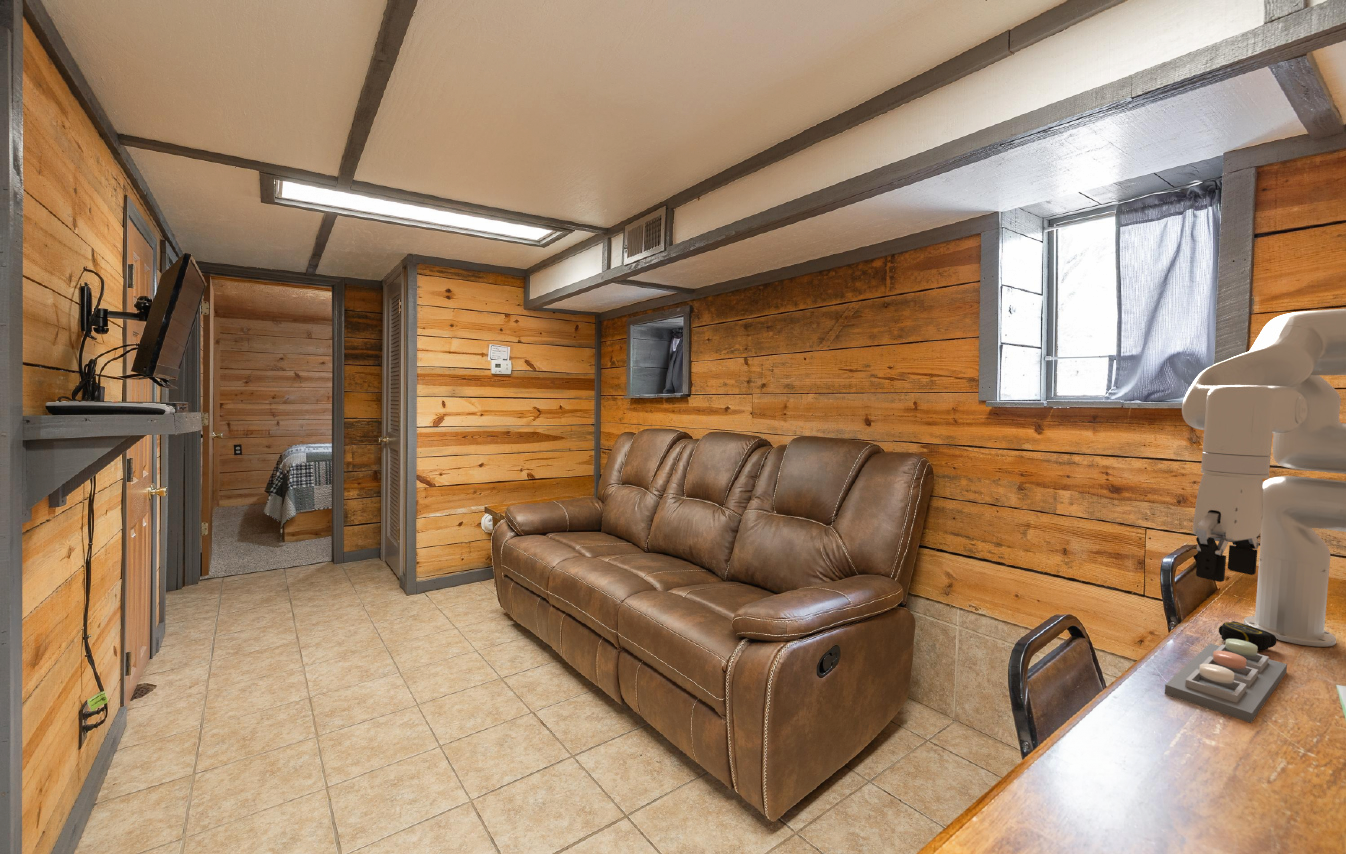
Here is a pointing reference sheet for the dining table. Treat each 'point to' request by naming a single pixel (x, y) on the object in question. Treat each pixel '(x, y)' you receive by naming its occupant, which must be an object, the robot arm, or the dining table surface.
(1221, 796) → the dining table surface
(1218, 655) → the button terracotta
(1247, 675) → the button board
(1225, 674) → the cream button
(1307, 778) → the dining table surface
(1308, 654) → the dining table surface
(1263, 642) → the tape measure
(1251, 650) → the button sage
